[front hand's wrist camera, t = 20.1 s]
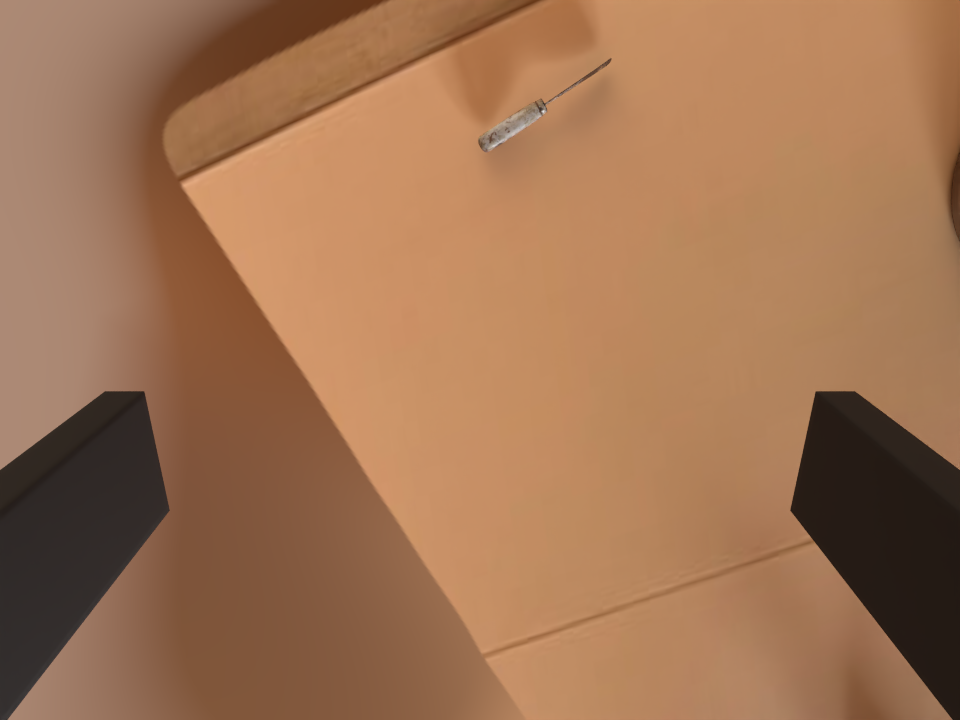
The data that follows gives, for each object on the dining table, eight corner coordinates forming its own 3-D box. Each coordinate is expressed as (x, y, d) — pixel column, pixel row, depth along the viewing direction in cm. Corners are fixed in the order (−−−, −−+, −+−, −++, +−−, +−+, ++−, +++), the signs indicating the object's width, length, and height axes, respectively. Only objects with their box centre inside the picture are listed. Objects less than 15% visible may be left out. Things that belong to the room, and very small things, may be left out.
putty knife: (475, 138, 35) (475, 140, 33) (601, 49, 33) (607, 46, 32) (485, 154, 35) (486, 157, 34) (611, 67, 34) (617, 65, 32)
